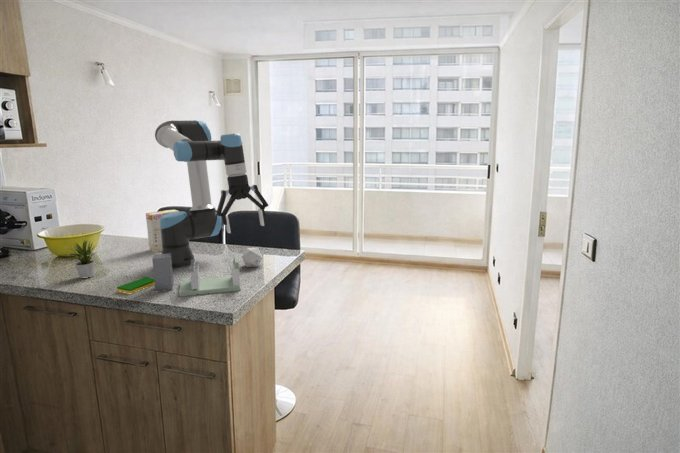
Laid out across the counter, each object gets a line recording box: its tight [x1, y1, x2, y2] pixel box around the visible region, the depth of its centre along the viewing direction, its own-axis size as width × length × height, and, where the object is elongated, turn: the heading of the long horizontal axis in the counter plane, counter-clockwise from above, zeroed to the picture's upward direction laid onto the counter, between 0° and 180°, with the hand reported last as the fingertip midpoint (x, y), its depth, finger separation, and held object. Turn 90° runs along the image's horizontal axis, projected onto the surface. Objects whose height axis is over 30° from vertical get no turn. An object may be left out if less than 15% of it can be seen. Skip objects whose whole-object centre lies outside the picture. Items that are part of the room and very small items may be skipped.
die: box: [241, 247, 263, 268], centre depth 198 cm, size 8×9×10 cm
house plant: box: [65, 238, 98, 278], centre depth 185 cm, size 14×14×16 cm
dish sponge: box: [116, 276, 155, 294], centre depth 172 cm, size 7×14×2 cm, turn 155°
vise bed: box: [178, 253, 241, 297], centre depth 171 cm, size 14×22×11 cm, turn 105°
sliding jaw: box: [189, 258, 201, 290], centre depth 169 cm, size 13×2×8 cm, turn 15°
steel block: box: [151, 253, 175, 292], centre depth 170 cm, size 6×6×13 cm
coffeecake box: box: [145, 209, 180, 253], centre depth 229 cm, size 15×7×20 cm, turn 133°
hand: (246, 229), depth 173 cm, fingers open, 13 cm apart
